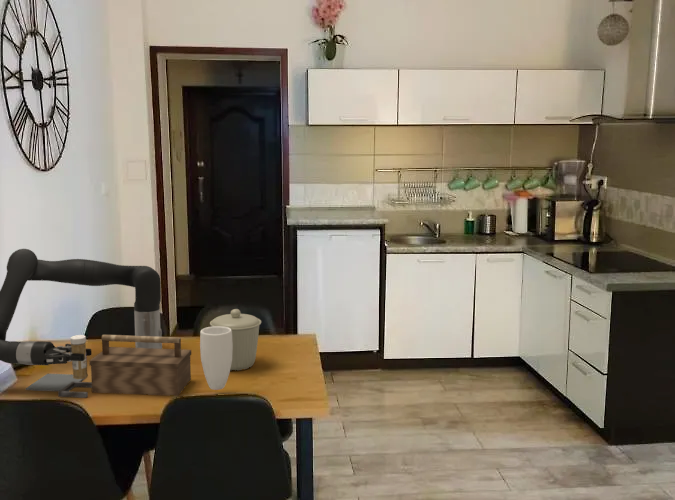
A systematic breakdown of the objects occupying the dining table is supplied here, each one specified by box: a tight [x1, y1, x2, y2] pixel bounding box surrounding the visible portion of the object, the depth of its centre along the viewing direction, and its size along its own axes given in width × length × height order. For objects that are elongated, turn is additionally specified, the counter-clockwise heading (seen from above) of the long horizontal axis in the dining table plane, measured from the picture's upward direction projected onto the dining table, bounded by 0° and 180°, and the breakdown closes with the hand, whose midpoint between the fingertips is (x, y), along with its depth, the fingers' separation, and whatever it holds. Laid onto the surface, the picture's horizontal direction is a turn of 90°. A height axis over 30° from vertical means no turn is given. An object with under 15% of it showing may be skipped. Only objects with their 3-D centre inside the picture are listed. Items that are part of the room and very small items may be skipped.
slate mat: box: [25, 373, 88, 392], centre depth 219 cm, size 14×14×1 cm
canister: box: [209, 308, 262, 371], centre depth 237 cm, size 18×18×21 cm
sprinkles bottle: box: [69, 334, 89, 380], centre depth 210 cm, size 5×5×14 cm
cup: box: [199, 326, 233, 391], centre depth 209 cm, size 10×10×22 cm
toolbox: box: [57, 334, 192, 399], centre depth 215 cm, size 37×19×17 cm, turn 86°
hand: (87, 354), depth 210 cm, fingers closed on sprinkles bottle, 4 cm apart
